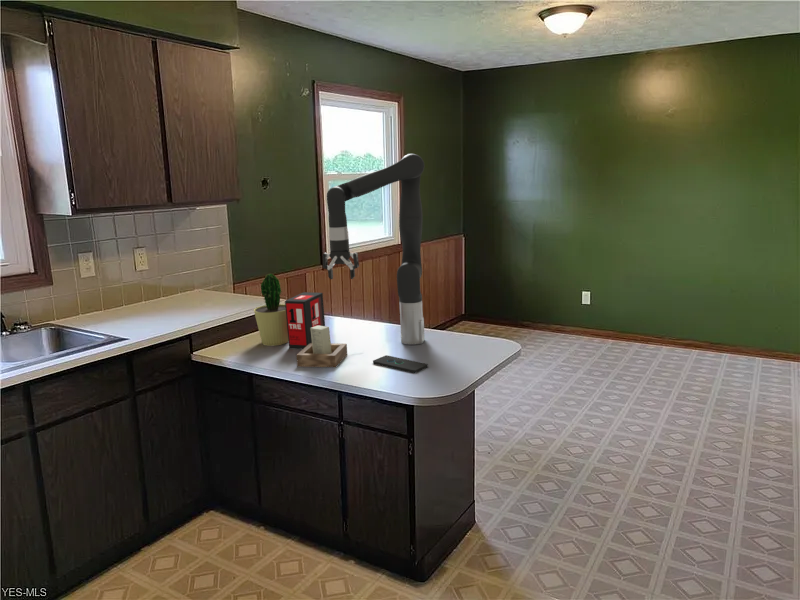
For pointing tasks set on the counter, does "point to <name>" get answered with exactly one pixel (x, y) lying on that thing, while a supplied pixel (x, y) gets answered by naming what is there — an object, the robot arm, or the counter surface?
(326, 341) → the skincare box
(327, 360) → the block
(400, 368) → the smart home device
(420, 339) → the robot arm
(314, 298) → the cleaning product box
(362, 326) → the counter surface
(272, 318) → the potted cactus
